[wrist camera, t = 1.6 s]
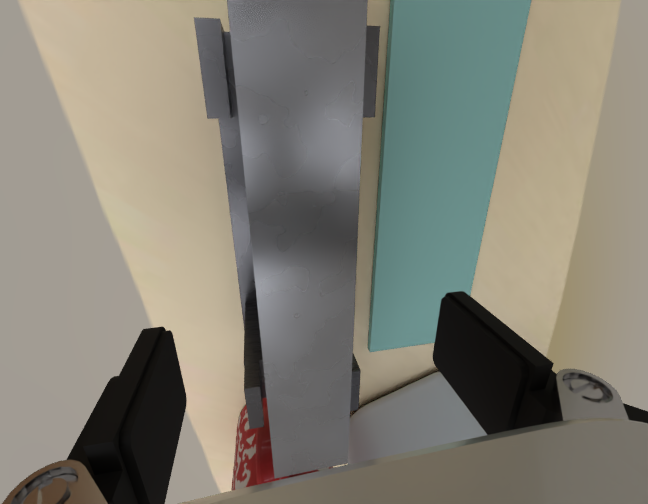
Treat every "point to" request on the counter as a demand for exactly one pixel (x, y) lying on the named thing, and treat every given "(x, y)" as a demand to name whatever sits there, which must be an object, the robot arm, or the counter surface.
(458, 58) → the mat
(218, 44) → the brackets
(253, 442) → the mug
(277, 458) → the rail
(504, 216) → the counter surface
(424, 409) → the plastic bottle
